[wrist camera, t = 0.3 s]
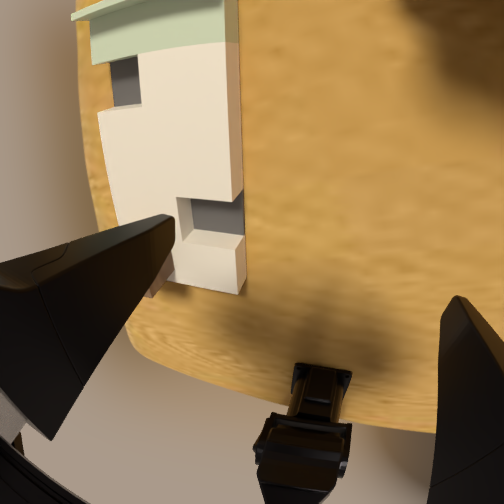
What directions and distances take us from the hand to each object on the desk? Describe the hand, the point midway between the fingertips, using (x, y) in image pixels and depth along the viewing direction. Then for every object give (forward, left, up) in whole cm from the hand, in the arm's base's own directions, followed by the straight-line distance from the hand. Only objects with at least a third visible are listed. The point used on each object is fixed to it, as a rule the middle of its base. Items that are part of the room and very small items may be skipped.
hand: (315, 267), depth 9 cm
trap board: (0, +12, -14) cm, 19 cm away
